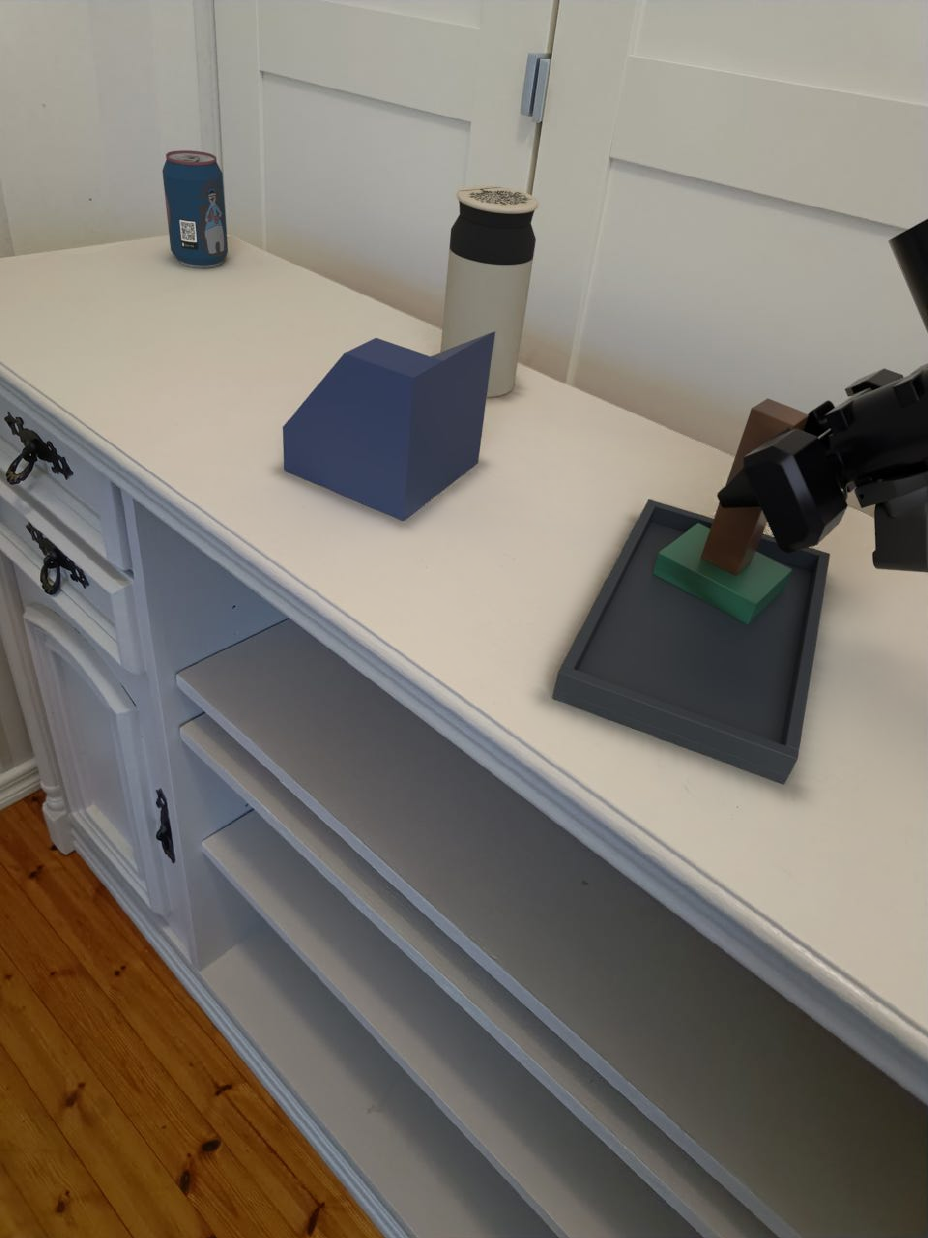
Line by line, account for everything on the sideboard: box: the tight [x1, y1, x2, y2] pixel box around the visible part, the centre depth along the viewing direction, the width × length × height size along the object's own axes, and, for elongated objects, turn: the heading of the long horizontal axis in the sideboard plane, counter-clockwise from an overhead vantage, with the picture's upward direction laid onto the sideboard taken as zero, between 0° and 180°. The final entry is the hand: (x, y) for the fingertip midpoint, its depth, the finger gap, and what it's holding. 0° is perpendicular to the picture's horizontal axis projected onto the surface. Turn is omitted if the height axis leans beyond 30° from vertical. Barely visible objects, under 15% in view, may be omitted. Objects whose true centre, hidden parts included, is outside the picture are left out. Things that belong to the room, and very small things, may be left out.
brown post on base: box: [653, 398, 809, 624], centre depth 59 cm, size 8×6×14 cm
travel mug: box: [439, 185, 539, 398], centre depth 83 cm, size 8×8×18 cm
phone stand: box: [282, 331, 495, 522], centre depth 70 cm, size 12×12×12 cm
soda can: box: [162, 149, 229, 269], centre depth 104 cm, size 7×7×12 cm
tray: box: [551, 498, 831, 785], centre depth 60 cm, size 24×15×2 cm, turn 157°
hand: (729, 494), depth 60 cm, fingers closed on brown post on base, 2 cm apart
